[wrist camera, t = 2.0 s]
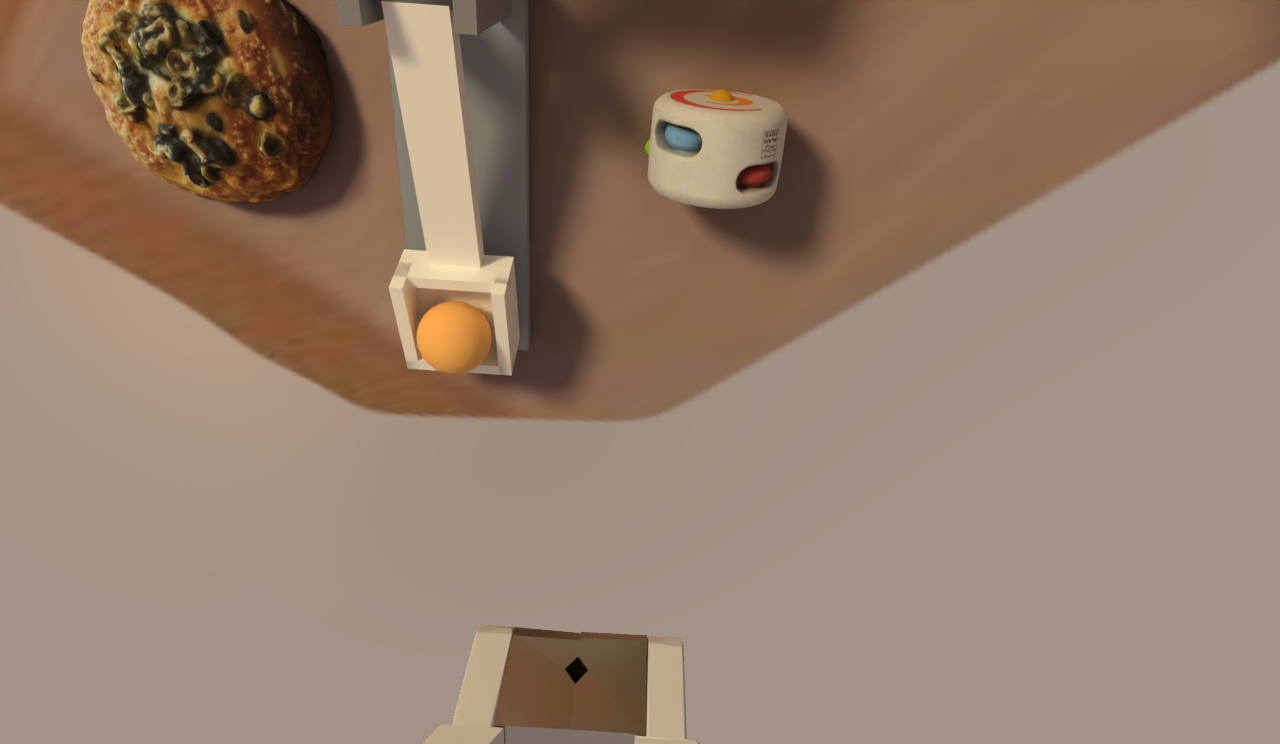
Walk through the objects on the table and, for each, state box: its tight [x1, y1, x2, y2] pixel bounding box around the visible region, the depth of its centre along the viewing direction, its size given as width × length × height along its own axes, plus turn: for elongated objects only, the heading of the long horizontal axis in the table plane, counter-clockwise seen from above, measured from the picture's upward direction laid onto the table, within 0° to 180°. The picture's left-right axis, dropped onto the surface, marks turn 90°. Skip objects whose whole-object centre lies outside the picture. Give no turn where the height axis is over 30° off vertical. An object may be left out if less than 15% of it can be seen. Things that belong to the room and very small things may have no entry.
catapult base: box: [336, 0, 531, 351], centre depth 33 cm, size 20×6×8 cm, turn 176°
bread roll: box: [81, 0, 334, 203], centre depth 34 cm, size 11×11×5 cm
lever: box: [375, 0, 520, 376], centre depth 30 cm, size 26×13×3 cm, turn 176°
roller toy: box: [645, 89, 788, 209], centre depth 33 cm, size 4×6×6 cm
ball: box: [417, 301, 492, 374], centre depth 37 cm, size 4×4×4 cm
